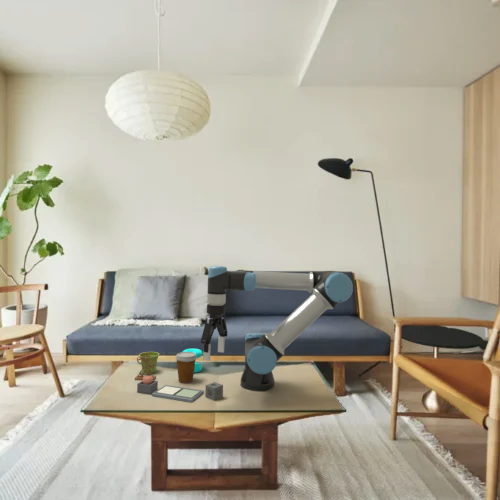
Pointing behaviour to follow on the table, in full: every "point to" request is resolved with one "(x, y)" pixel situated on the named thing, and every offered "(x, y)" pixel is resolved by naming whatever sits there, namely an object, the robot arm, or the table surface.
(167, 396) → the picture board
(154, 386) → the button housing
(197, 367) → the donuts
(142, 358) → the brown scrollwork sculpture
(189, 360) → the disposable coffee cup
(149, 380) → the button
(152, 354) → the plant pot
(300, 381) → the table surface
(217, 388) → the dice cube
